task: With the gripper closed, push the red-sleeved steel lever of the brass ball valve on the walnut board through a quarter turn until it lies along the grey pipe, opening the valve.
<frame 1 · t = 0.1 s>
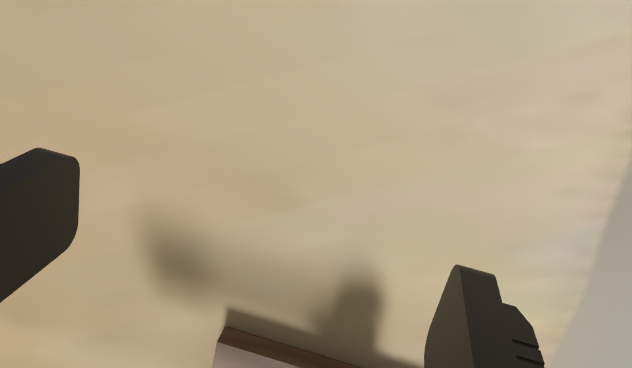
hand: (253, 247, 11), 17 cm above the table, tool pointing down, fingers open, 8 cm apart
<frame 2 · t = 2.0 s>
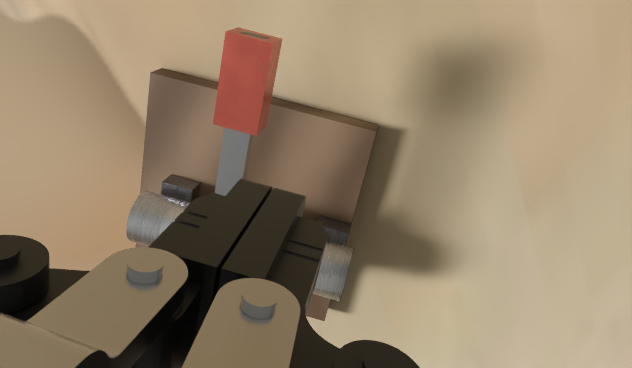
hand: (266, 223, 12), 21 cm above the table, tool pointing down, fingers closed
valve: (261, 213, 35), resting on mounting board
lever: (229, 188, 25), point 9 cm above the table, hinge at 0.0°
mounting board: (250, 196, 35), on the table
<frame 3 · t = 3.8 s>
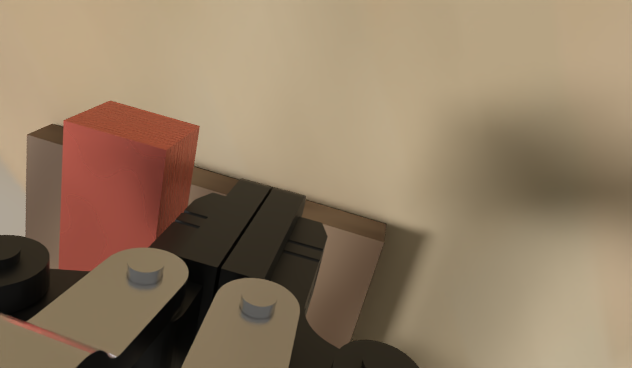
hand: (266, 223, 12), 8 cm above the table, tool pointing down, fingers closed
mounting board: (190, 311, 24), on the table
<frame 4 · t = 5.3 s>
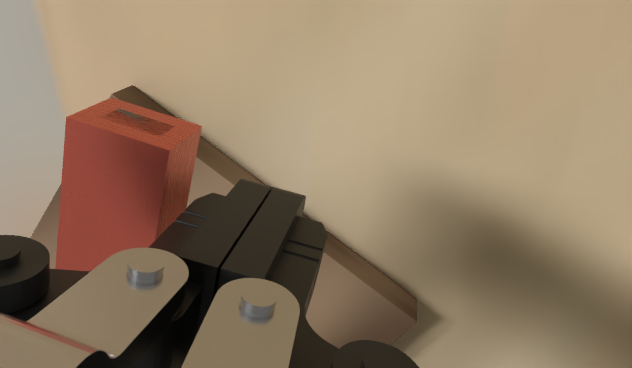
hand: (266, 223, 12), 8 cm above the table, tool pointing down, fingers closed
mounting board: (191, 304, 23), on the table
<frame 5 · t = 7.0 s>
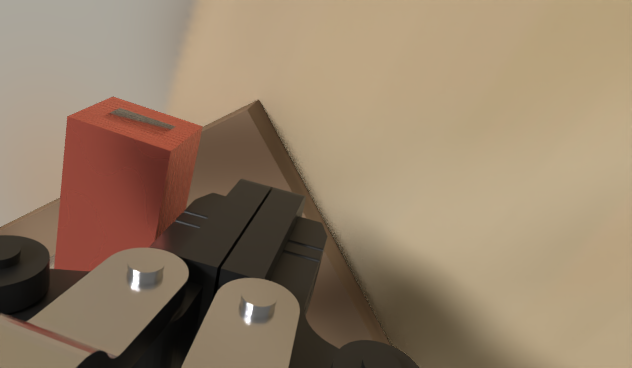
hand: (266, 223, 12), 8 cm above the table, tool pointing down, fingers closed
mounting board: (201, 305, 23), on the table
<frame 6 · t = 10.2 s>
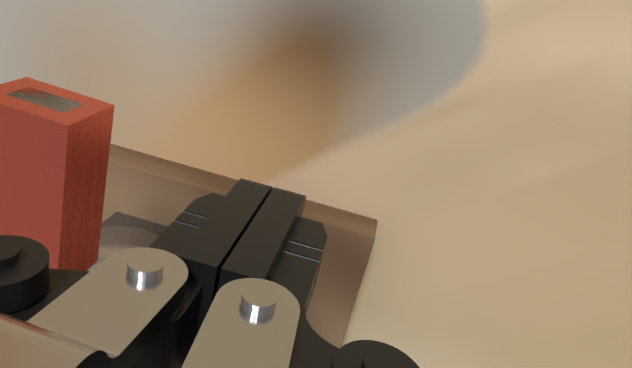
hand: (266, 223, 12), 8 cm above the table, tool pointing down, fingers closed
valve: (161, 321, 24), resting on mounting board
lever: (32, 367, 13), point 9 cm above the table, hinge at 87.8°
mounting board: (184, 311, 23), on the table
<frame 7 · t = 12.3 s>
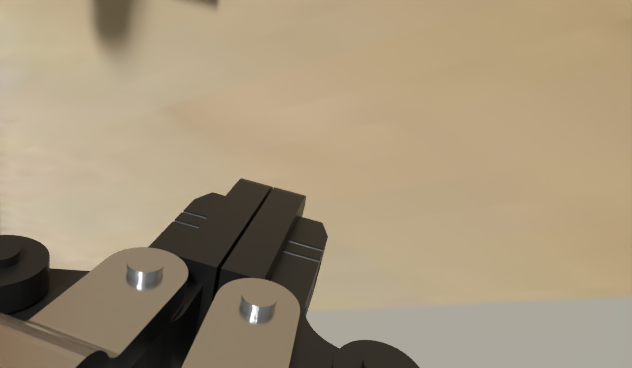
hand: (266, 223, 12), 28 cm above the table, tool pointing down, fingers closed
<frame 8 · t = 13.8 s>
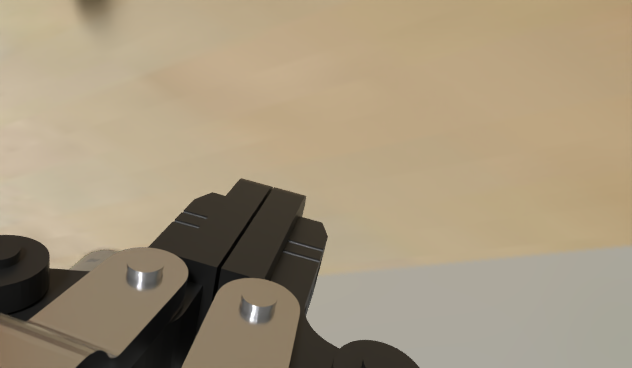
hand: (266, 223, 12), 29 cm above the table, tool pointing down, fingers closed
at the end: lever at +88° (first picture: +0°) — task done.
